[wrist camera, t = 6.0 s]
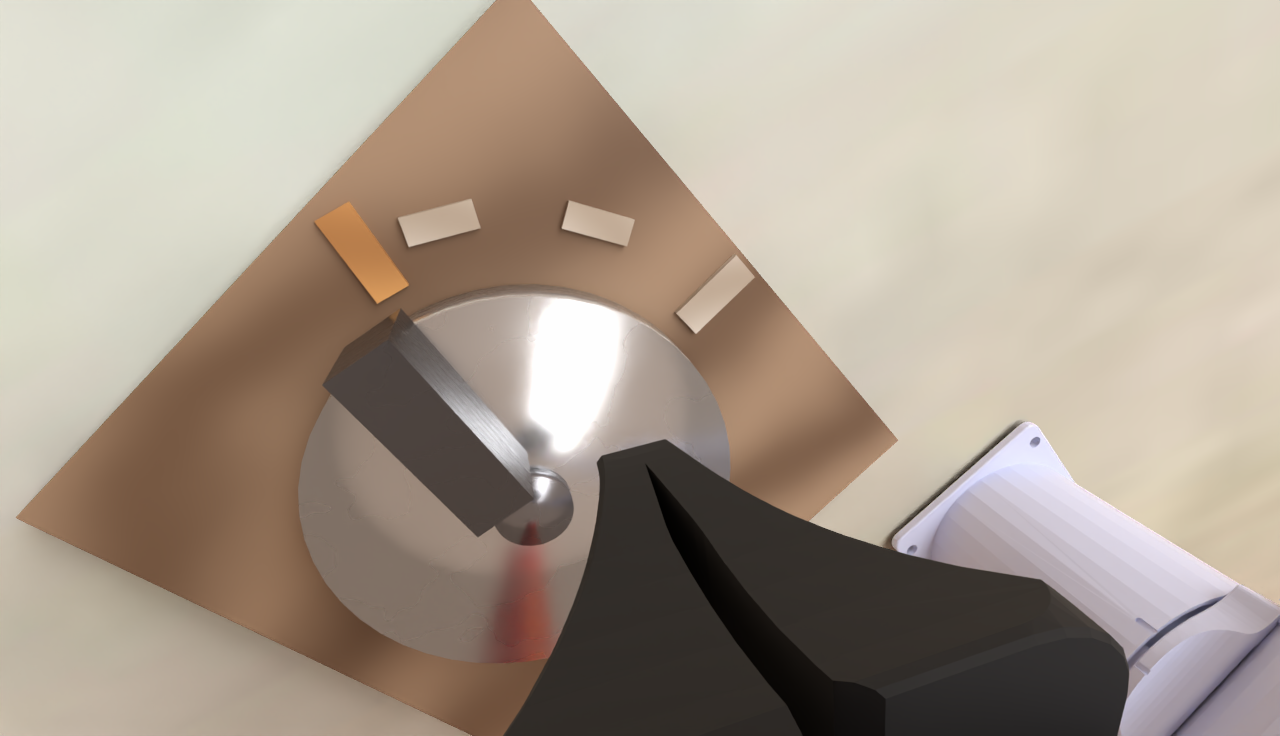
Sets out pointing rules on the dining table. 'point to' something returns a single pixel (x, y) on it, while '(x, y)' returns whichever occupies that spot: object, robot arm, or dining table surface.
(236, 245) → the dining table surface
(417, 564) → the dial
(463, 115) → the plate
